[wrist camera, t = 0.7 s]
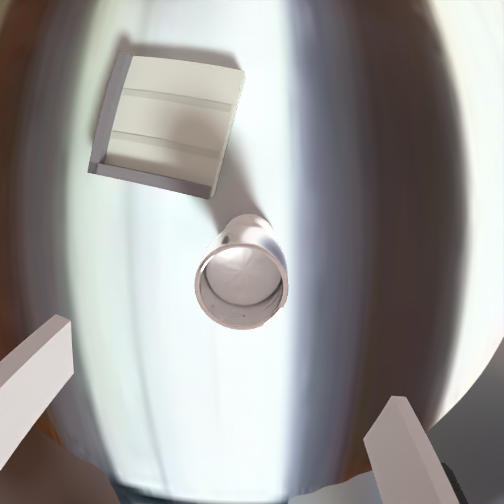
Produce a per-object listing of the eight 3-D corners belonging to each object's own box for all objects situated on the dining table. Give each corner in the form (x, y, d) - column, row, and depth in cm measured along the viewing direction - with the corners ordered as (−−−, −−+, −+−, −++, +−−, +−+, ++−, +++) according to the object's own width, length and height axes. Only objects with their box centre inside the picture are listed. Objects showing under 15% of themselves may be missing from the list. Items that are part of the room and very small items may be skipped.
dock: (105, 171, 34) (87, 172, 30) (133, 62, 31) (119, 51, 26) (214, 195, 35) (207, 199, 31) (245, 78, 31) (243, 66, 27)
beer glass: (288, 223, 36) (308, 262, 21) (264, 277, 37) (267, 344, 23) (231, 200, 35) (211, 224, 21) (209, 255, 37) (179, 312, 22)
